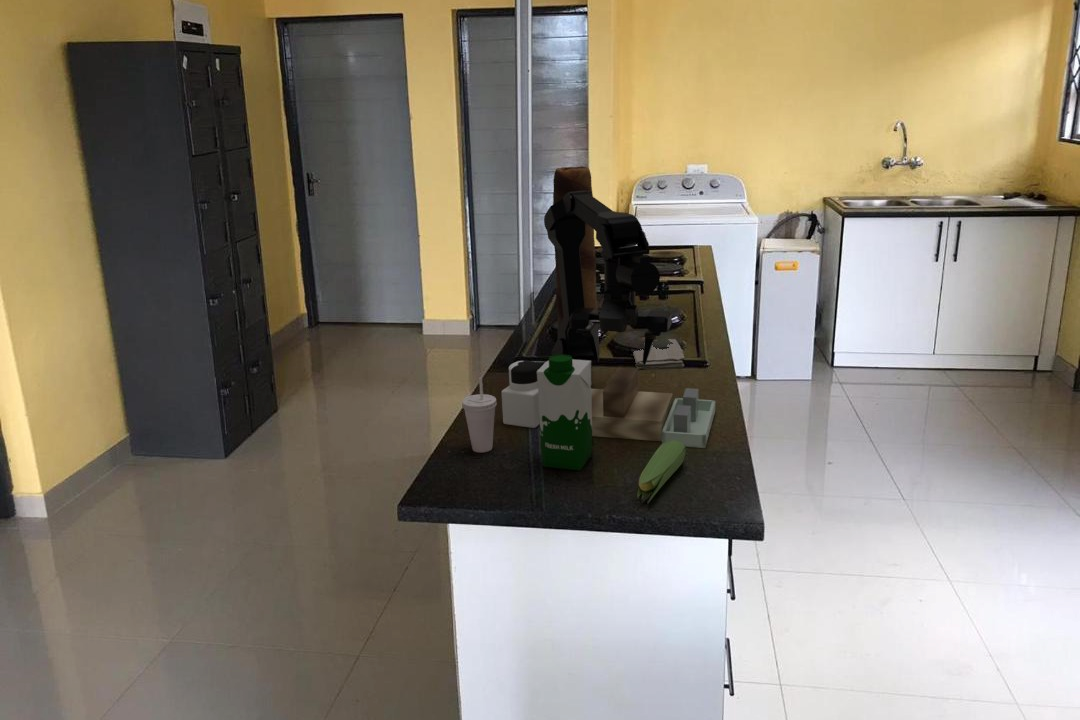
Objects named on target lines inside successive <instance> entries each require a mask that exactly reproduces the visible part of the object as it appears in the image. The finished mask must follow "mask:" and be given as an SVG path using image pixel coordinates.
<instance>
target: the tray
mask: <svg viewBox="0 0 1080 720" xmlns="http://www.w3.org/2000/svg"><path fill="white" fill-rule="evenodd" d="M677 405H683V397H681V398H680V397H675V398H674V399H673V405H672V408H671V410H670V413H669V415H668V418H667V420H666V423H665V425H664V428H663V430H662V441H661V445H662V444H663V443H665V442H668V441H670V440H677V441H679V442H682V443H683V445H684V446H685V447H686V448H701V449H706V447H707V444H708V441H709V437H710V433H711V429H712V425H713V421H714V418H715V414H716V400H715V399H714V400H712V399H711V400H710V399H699V398H698V415H697V419H696V422H691V431H690V433H683V432H674V413H675V410H676V408H677Z"/></svg>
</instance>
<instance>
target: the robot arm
mask: <svg viewBox="0 0 1080 720" xmlns="http://www.w3.org/2000/svg"><path fill="white" fill-rule="evenodd" d="M592 194H593V193H592ZM592 194H591V193H590V192H587V191H576V192H569V193H568V194H565V196H564V197H563V199H561V200H560V201H558V202H556V203H555V204H553V203H552V204H551V205H550V206H549V208H548V209H547V210H546V213H545V214H544V217H543V223H544V224H543V225H544V227H545V231H546V233H547V238H548V240H549V241H550V243H551V244H552V245H553V246H554V247H555V248H556V249H557V255H558V265H559V276H560V286H561V296H562V306H563V320H562V322H561V324H560V326H559V328H558V327H557V340H556V341H555V344H554V345H553V347H552V349H551V351H550V353H551V356H553V355H560V354H563V355H569V356H571V357H572V359H574V360H589V361H591V362H596V363H599V361H600V339H599V338H598V336H599V335H598V324H599V331H601V332H603V333H607V332H616V333H624V332H626V331H627V327H628V326H645V328H646V330H645V333H644V341H645V343H644V352H643V364H644V365H645V364H646V362H647V359H648V356H649V353H650V350H651V347H652V344H653V341H655V339H656V337H660V336H662V334H663V333H667V332H669V330H670V328H671V326H672V324H673V323H672V313H671V312H670V311H669V310H661V309H659V310H656V309H651V310H650V311H649V312H648V314H639V309H638V307H637V306H638V305H636V294H639V295H649V294H651V293H653V292H654V291H655V290H656V289H657V287H658V285H659V284H660V279H661V275H660V274H661V273H660V271H659V269H658V267H657V266H656V265H654V263H651V262H650V261H651V259H650V255H649V254H651V253H650V248H649V245H650V244H649V243H650V242H648V238H647V237H646V234H645V232H644V229H643V228H642V225H641V222H640V221H639V220H638V218H637V217H636V216H635V215H634V214H631V213H628V212H623V211H622V212H621V211H614V210H612V209H611V208H609V207H608V206H607V205H606V204H604V203H603V202H601V201H600V200H598V199H597V198H595V197H594V195H593V196H592ZM587 224H588V225H589V226H590V227H592V228H593V229H594V232H595V239H596V241H597V242H598V243H599V245H600V247H601V248H602V251H600V256H601V257H603V267H604V268H603V270H604V271H603V274H604V276H603V277H604V291H603V300H602V304H601V307H600V311H599V312H598V314H597V313H596V311H595V308H585V301H584V291H583V280H582V269H581V259H580V246H581V244H582V242H583V239H584V237H585V235H586V225H587ZM555 248H554V249H555ZM597 323H598V324H597ZM593 384H594V383H593V366H592V365H591V386H592V385H593Z"/></svg>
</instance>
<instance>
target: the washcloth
mask: <svg viewBox="0 0 1080 720" xmlns="http://www.w3.org/2000/svg"><path fill="white" fill-rule="evenodd" d="M667 339H668V340H669V341H670V342H672V343H673V344H670V345H669V344H668V345H667V347H669V348H667V349H663V350H662V349H659V348H657V349H656V348H655V347H653V345H652V347H651V350H650V353H649V356H648V359H647V362H646V364H645V365H644V364H643V352H644V350H643V349H642V350H641V349H640V350H641V351H639V350H638V351H634V352H633V356H634V359H635V362H634V363H636V364H635V369H638V370H650V371H651V370H663V369H664V370H665V369H666V370H668V369H682V368H684V367H685V364H684V361H683V360H685V359H686V358H685V357H686V356H685V355H684V350H683V349H682V348H681V346H680V344H679V343H678V341H677V340H676V338H674V339H673V338H667ZM634 359H633V360H634Z"/></svg>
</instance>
